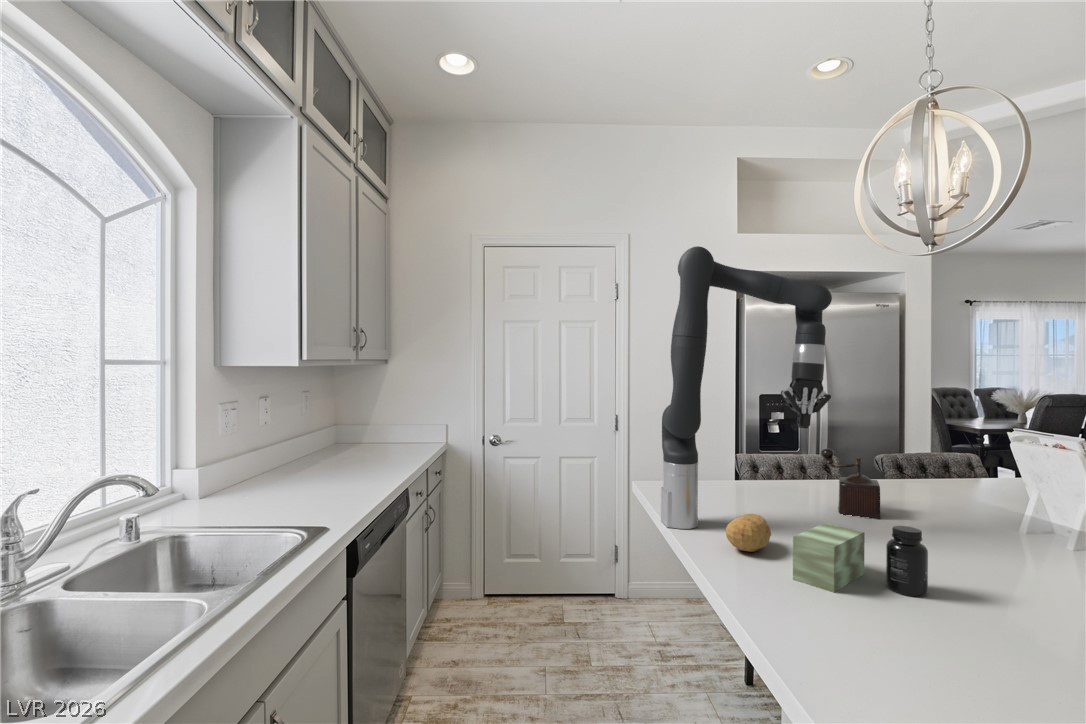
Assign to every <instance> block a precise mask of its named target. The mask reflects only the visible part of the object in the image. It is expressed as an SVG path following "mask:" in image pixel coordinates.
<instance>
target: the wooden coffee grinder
mask: <svg viewBox="0 0 1086 724" xmlns="http://www.w3.org/2000/svg"><path fill="white" fill-rule="evenodd" d="M819 454H820V456H821V457H822V459H824V464H826V465H828V466H829V467H831V468H852V467H856V466H857V467H856V469H857V472H855V473H853V474H851V475H848V476H839V478H838V506H837V510H838V513H839V515H840V514H843V515H842V516H846V515H852V516H851V517H854V516H860V517H859V518H862V517H869V518H868V519H872V518H878V519H877V520H881V486H880V483H879V481H878V480H877V479H871V478H869V477H868V476H866V475H865V474H862V472H861V471H862V470H861V469H862V467H861V465H862V457H859V456H858V457H856V462H854V463H844V464H835V460H834V459H833V458H834V454H835V451H834V450H833V449H832V448H828V447H827V448H823V449H821V450H820V453H819Z"/></svg>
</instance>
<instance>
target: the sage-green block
mask: <svg viewBox="0 0 1086 724" xmlns="http://www.w3.org/2000/svg"><path fill="white" fill-rule="evenodd" d="M865 533H866V532H865V531H863V530H859V529H854V528H849V527H846V526H845V527H844V526H841V525H836V524H833V523H832V524H831V523H828V522H824V523H822V524H819V525H817V526H814V527H812V528H810V529H808V530H805V531H804V532H801V533H798V534H796V535H794V536H792V580H793V581H796V582H798V583H802V584H805V585H809V586H811V587H815V588H818V589H821V590H823V591H828V592H830V593H836V592H837V591H839V590H840V589H842V588H844V587H845V586H847V585H848V583H849V584H850V583H852V582H853V581H855V580H857V579H858V578H860V577H861V576H863V575H864V574H865V539H866V538H865ZM856 578H857V579H856ZM851 581H852V582H851Z"/></svg>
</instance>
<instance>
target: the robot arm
mask: <svg viewBox="0 0 1086 724" xmlns="http://www.w3.org/2000/svg"><path fill="white" fill-rule="evenodd" d="M677 273H678V276H679V281H680V282H679V300H678V304H677V308H676V313H675V317H674V322H673V327H672V332H671V333H672V334H671V343H670V363H671V373H672V382H673V383H672V392H671V393H672V394H671V400H670V404H668V406H667V407H665V409H664V410H663V412H662V417H661V448H662V455H663V456H662V457H663V462H662V463H663V470H662V471H663V473H662V475H663V476H662V479H663V481H662V482H663V483H662V486H661V488H660V522H661V523H662V524H663V525H664V526H665V527H666V528H674V529H679V530H689V529H695V528H697V527H698V525H699V515H698V514H699V513H698V512H699V508H698V507H699V505H698V504H699V451H698V449H697V444H696V434H697V433H698V431H699V429H700V427H701V423H702V422H701V421H702V410H701V408H702V404H701V403H702V402H701V397H702V396H701V392H702V391H701V390H702V379H703V375H704V369H705V359H706V352H707V342H708V318H709V316H708V314H709V313H708V312H709V311H708V305H709V304H708V303H709V301H708V300H709V294H710V287H713V288H719V289H723V290H729V291H733V292H736V293H739V294H743V295H746V296H749V297H752V298H755V299H759V300H763V301H766V302H770V303H773V304H778V305H791V306H794V313H795V314H794V315H795V324H796V330H795V338H794V339H795V340H794V341H795V344H794V349H793V352H792V353H793V354H792V363H791V364H792V367H791V376H790V377H791V381H790V384H789V387H788V388H786V389H785V390H781V391H780V394H781V396H782V398H783V400H785V402H786V404H787V405H788V407H789V410H791V411H794V412H796V415H797V418H796V426H798V428H799V429H809V427H810V426H811V420H812V419H811V418H812V414H814V413H819V412H820V411H821V410H822V408H824V406H825V405H826V404H827V403H828V402H829V401H830V400H831V398H832V395H831V394H828V393H827V392H826V391H825V390H824V385H823V381H824V376H825V375H824V374H825V373H824V372H825V363H826V362H825V359H826V351H825V349H826V348H825V345H826V332H827V331H826V326H825V324H823V311H825V310H826V309H827V308H828V307H829V306H831V303H832V299H833V297H832V293H831V291H830V290H829V289H828V288H827V287H826V286H823V285H822V284H818V283H814V282H810V281H804V280H796V279H795V280H793V279H789V278H786V277H783V276H780V275H776V274H773V273H769V272H765V271H759V270H754V269H753V270H751V269H744V268H737V267H732V266H729V265H724V264H722V263H719V262H717V261H715V260H714V256H713V255H712V253H711V252H710V251H709V250H708V249H707V248H705V247H703V246H692V247H691V248H688V249H687V250H686V251H684V252H683V253H682V255H680V258H679V262H678V264H677ZM794 398H795V399H794Z"/></svg>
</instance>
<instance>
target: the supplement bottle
mask: <svg viewBox="0 0 1086 724" xmlns="http://www.w3.org/2000/svg"><path fill="white" fill-rule="evenodd" d="M891 530H892V533H891V537H892V539H889V540H888V541H887V542H886V554H885V555H886V558H885V562H886V563H885V564H886V565H885V571H886V572H885V575H886V576H885V577H886V578H885V583H886V586H887V588H888V589H889V590H891V591H892V592H895V593H898V594H900V595H904V596H909V597H924V596H926V595H927V594H928V592H929V591H928V589H929V551H928V548H927V547H926V546H925V544H923V543H921V542H922V541H923V537H922V536H923V535H922V532H923V531H922V530H921V529H918V528H915V527H911V526H907V525H905V526H904V525H893V526H892V529H891Z"/></svg>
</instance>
